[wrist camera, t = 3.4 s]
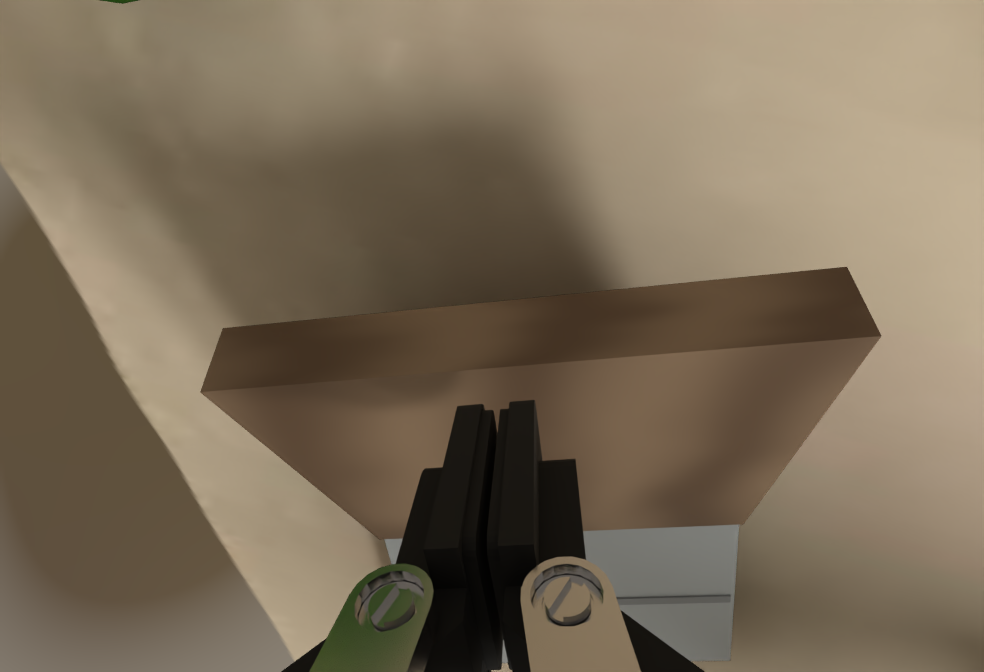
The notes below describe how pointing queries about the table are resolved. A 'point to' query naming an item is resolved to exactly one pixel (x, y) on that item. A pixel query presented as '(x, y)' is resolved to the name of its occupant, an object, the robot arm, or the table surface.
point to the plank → (560, 391)
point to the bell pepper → (120, 1)
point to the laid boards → (668, 582)
